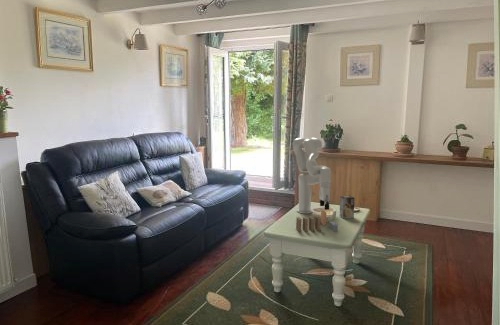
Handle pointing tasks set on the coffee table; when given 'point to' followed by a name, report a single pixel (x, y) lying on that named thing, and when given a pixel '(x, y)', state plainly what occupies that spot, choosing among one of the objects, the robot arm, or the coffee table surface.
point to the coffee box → (346, 207)
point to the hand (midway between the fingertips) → (324, 207)
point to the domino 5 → (323, 217)
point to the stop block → (333, 226)
